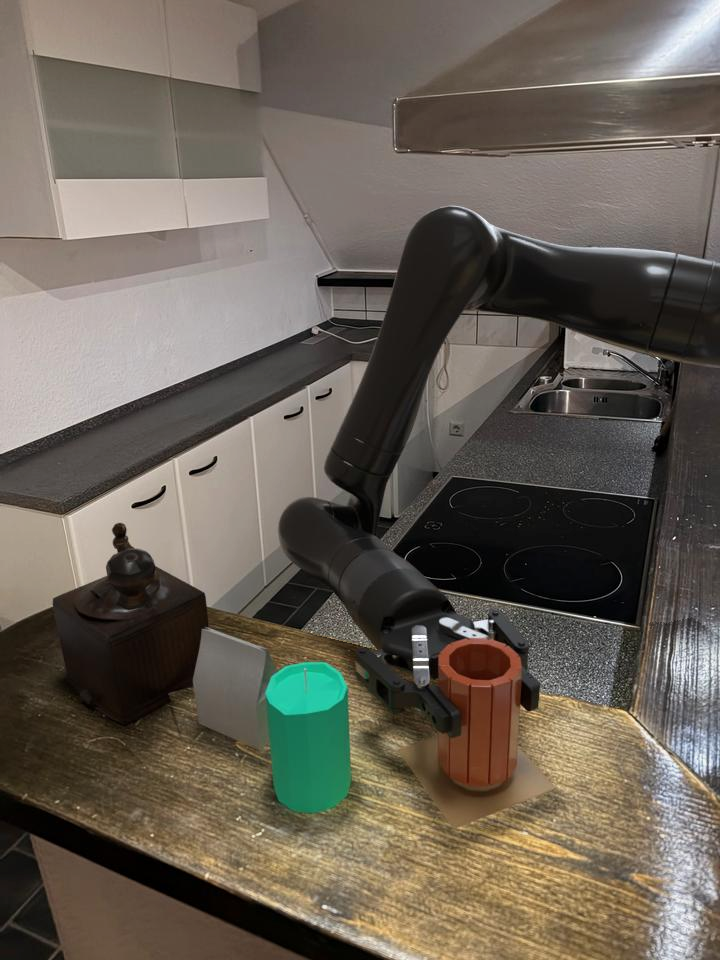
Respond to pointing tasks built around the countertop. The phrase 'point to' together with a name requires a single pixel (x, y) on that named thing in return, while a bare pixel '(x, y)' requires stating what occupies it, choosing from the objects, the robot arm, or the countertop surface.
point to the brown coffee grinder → (130, 634)
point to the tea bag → (233, 687)
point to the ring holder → (472, 801)
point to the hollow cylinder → (481, 710)
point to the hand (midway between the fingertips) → (496, 713)
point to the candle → (309, 736)
